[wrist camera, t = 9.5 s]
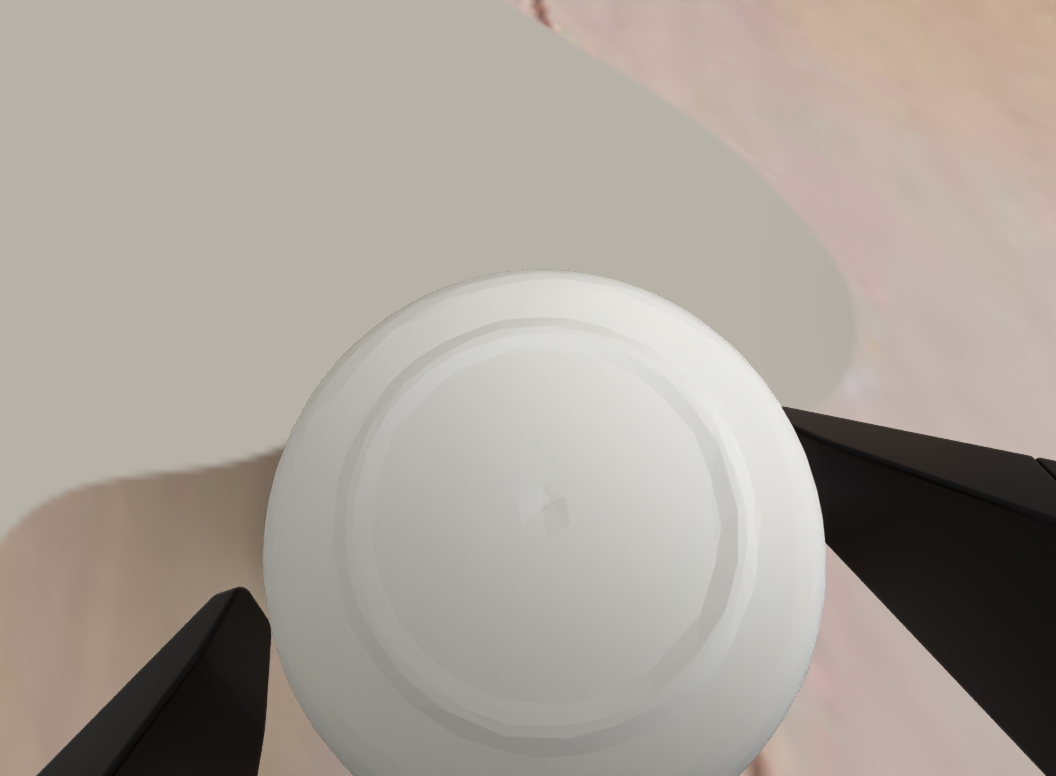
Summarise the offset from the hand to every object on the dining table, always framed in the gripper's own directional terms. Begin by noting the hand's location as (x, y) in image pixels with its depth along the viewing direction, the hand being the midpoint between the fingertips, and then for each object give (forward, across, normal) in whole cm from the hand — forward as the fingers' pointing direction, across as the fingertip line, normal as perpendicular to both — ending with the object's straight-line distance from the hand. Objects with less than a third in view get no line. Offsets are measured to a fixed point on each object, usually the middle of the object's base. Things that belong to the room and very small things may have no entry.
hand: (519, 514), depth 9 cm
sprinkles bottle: (+6, 0, +6) cm, 9 cm away
